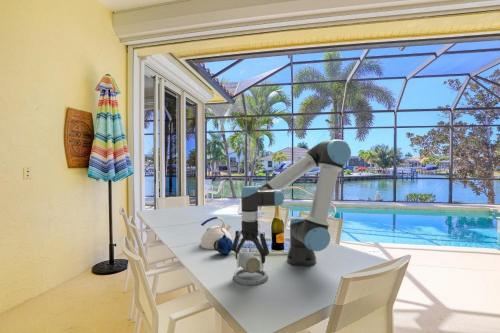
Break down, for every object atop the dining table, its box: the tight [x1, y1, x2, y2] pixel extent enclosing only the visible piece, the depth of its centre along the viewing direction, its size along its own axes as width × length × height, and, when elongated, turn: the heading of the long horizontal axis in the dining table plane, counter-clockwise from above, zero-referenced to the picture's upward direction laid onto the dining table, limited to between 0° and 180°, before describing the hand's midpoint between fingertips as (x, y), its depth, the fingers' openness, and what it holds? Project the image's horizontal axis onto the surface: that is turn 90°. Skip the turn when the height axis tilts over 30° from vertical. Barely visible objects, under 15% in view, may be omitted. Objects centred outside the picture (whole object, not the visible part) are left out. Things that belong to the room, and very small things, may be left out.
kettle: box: [200, 216, 233, 250], centre depth 180 cm, size 20×21×18 cm
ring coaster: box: [232, 268, 269, 286], centre depth 127 cm, size 16×16×2 cm
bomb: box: [213, 228, 234, 255], centre depth 160 cm, size 10×11×15 cm
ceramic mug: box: [239, 251, 264, 273], centre depth 127 cm, size 11×8×8 cm
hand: (250, 268), depth 127 cm, fingers closed on ceramic mug, 10 cm apart
